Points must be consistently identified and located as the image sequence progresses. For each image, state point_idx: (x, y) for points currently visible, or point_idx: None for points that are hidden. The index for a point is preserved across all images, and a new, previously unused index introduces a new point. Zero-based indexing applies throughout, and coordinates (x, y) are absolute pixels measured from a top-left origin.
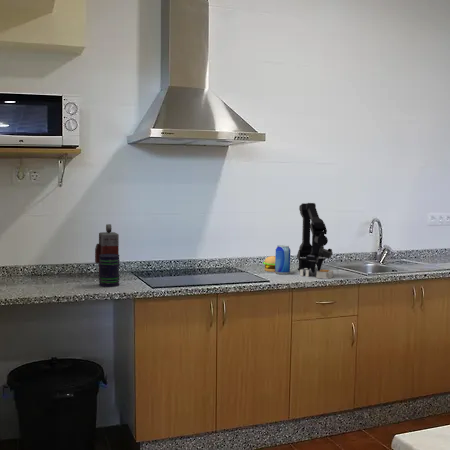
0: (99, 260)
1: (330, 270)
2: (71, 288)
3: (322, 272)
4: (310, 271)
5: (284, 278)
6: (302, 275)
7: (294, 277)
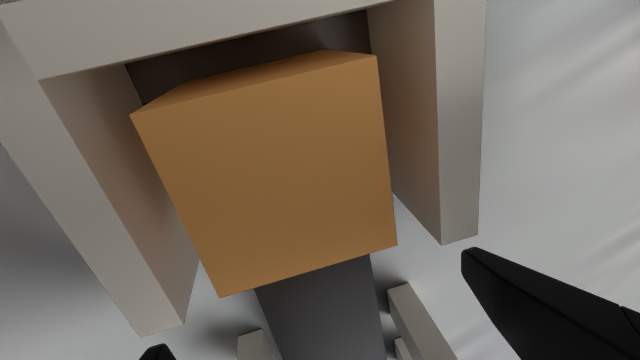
0: None
1: (22, 106)
2: None
3: (474, 100)
4: (382, 351)
5: None
6: None
7: None
